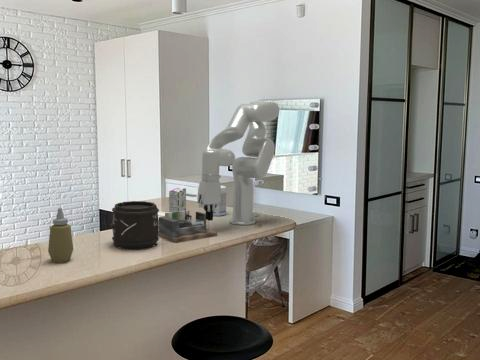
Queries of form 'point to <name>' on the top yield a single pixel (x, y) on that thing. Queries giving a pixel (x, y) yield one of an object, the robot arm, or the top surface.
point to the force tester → (181, 228)
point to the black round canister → (135, 225)
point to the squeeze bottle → (60, 239)
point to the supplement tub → (221, 204)
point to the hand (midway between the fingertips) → (209, 219)
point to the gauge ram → (195, 220)
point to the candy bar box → (177, 200)
